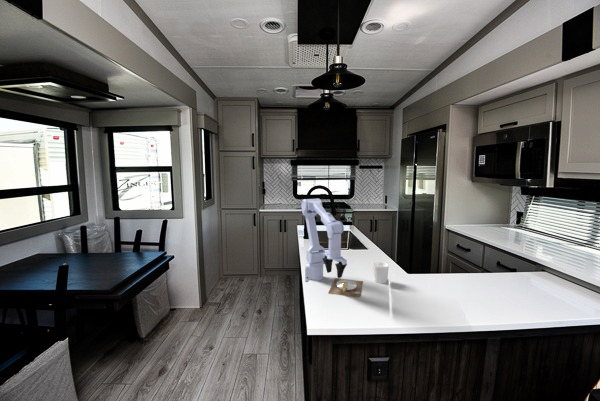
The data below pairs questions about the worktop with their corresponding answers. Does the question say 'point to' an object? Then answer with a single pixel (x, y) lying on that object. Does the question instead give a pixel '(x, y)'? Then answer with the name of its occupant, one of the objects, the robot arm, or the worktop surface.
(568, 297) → the worktop surface
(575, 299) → the worktop surface
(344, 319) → the worktop surface
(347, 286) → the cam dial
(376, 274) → the white cup
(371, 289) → the worktop surface
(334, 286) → the brown flat rectangular slab
